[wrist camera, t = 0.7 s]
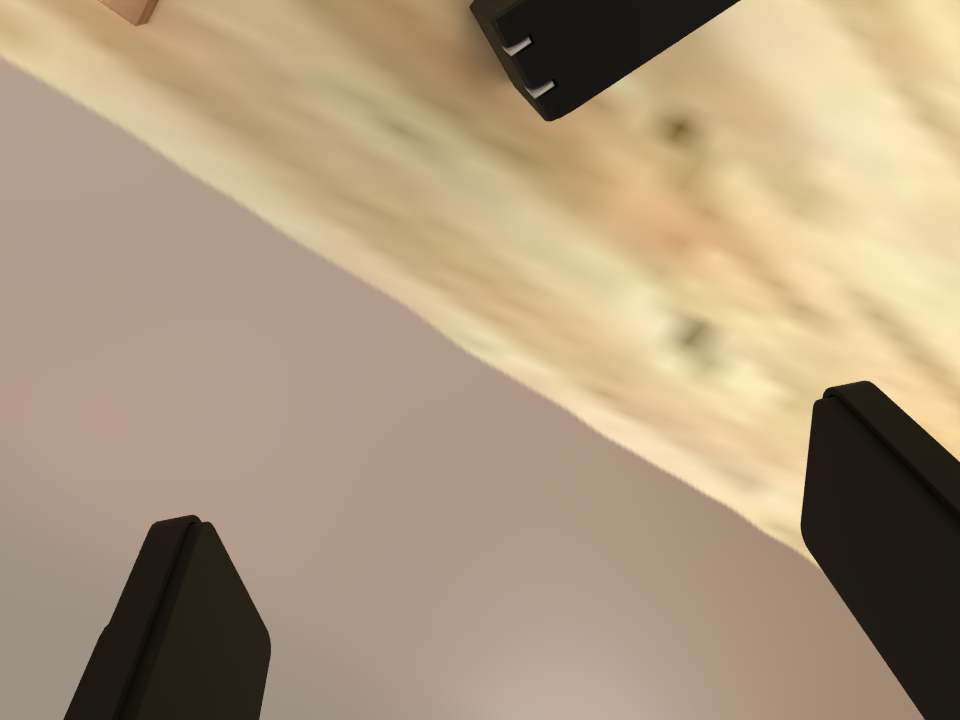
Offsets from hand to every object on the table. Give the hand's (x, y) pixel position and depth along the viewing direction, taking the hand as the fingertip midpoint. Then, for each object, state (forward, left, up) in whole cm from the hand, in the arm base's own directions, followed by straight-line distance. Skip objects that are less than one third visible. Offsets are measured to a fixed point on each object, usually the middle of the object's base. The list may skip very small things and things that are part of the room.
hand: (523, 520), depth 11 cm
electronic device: (-4, +9, -28) cm, 29 cm away
